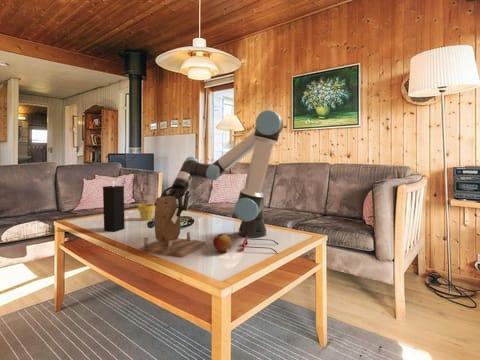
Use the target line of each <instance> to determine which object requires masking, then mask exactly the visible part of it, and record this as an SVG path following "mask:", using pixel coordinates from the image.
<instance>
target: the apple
mask: <svg viewBox="0 0 480 360" xmlns="http://www.w3.org/2000/svg"><path fill="white" fill-rule="evenodd" d="M212 244H213V247H214V248H215V250H216V251H217V252H220V253H222V252H225V251H227V250H229V249H231V247H232V244H233V243H232V239H231V237H230V236H229V235H228V234H226V233H223V232H222V233H219V234H217V235H216V236H214V237H213V240H212Z"/></svg>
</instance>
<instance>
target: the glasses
mask: <svg viewBox="0 0 480 360" xmlns="http://www.w3.org/2000/svg"><path fill="white" fill-rule="evenodd" d="M244 237H245V238H244V239H243V244H242V245H240V246H241V248H242V249H243V250H242V251H245V249H246V248H250V249H251V248H257V249H267V247H265V246H264V247H262V246H261V247H260V246H248V243H249V242H248V241H249V240H250V237H248V235H247V236H244ZM251 240H254V241H255V240H257V241H258V240H259V241H268V239H264V238H251ZM270 241H272V242H274V243H275V244H276V245H278V244H279V243H278V242H277V241H275V240H274V239H270ZM268 249H270V250H272V251H273V252H274V253H276V254H278V253H277V252H278V251H276V250H275V249H273V248H272V247H268Z"/></svg>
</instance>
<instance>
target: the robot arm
mask: <svg viewBox="0 0 480 360" xmlns="http://www.w3.org/2000/svg"><path fill="white" fill-rule="evenodd" d="M283 128H284V122H283V120H282V117H281V116H280V114H279V113H278V112H276V111H274V110H271V109H267V110H263V111H261V112H260V113H259V114H258V115H257V116H256V119H255V128H254V131H252V132H251V133H250V134H249V135H248V136H247V137H245V138H244V139H242V140H241V141H240V142H238V144H236V145H234V146H233V147H232V148H231V149H229V150H228V151H227V152H225V153H224V154H223V155H222V156H220V157H219V158H218V159H217V160H215V161H214V162H213V163H203V162H200V161H199V159H197V158H195V157H193V156H189V157H186V159H184V162H183V163H182V165H181V167H180V169H179V171H178V173H177V175H176V177H175V179H174V181H173V183H172V185H171V189H170V190H167V189H164V190H163V193H162V194H161V195H160V197H166V196H174V197H176V200H177V201H178V202H177V203H178V204H177V205H178V208H179V209H178V208H177V209H176V211H175V213H174V215H173V217H172V219H171V221H172V222H173V223H174V224H175V223H176V220H177V218H178V217H179V216H180V217H181V215H182V212H183V211H185V212H186V211H188V207H189V200H190V197H191V192H190V191H189V187H190V185H191V183H192V181H193V178H198V179H199V178H200V179H205V180H210V181H218V179H219V178H220V177H221V176H222V175H223V174H224V173H225V172H227V171H228V169H230V168H232V167H233V166H234V165H235V164H237V163H238V162H239V161H241V160H242V159H243V158H245V157H246V156H248V154H250V153H252V156H251V158H250V163H249V167H248V172H247V175H246V179H245V183H244V187H243V188H242V189H240V190H239V194H238V199H237V200H236V202H235V204H234V213H235V216H236V217H237V218H238V219H239V220H240V221H241V222H240V225H239V226H238V227H239V228H238V235H239V236H241V237H245V236H247V235H248V238H260V237H261V236H262V237H264V235H265V236H266V235H267V228H266V224H265V221H264V206H265V205H264V203H265V202H264V201H265V200H264V199H265V196H264V193H263V192H262V190H263V186H264V182H265V178H266V174H267V171H268V167H269V163H270V160H271V159H270V158H271V154H272V152H273V151H272V150H273V148H274V145H275V144H276V143H277V142H278V140H279V136H280V134H281V132H282V131H283ZM183 197H184V198H183ZM153 204H154V205H155V206H156V202H155V203H153ZM151 220H153V221H154V222H155V211H153V216H152V219H151Z"/></svg>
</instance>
